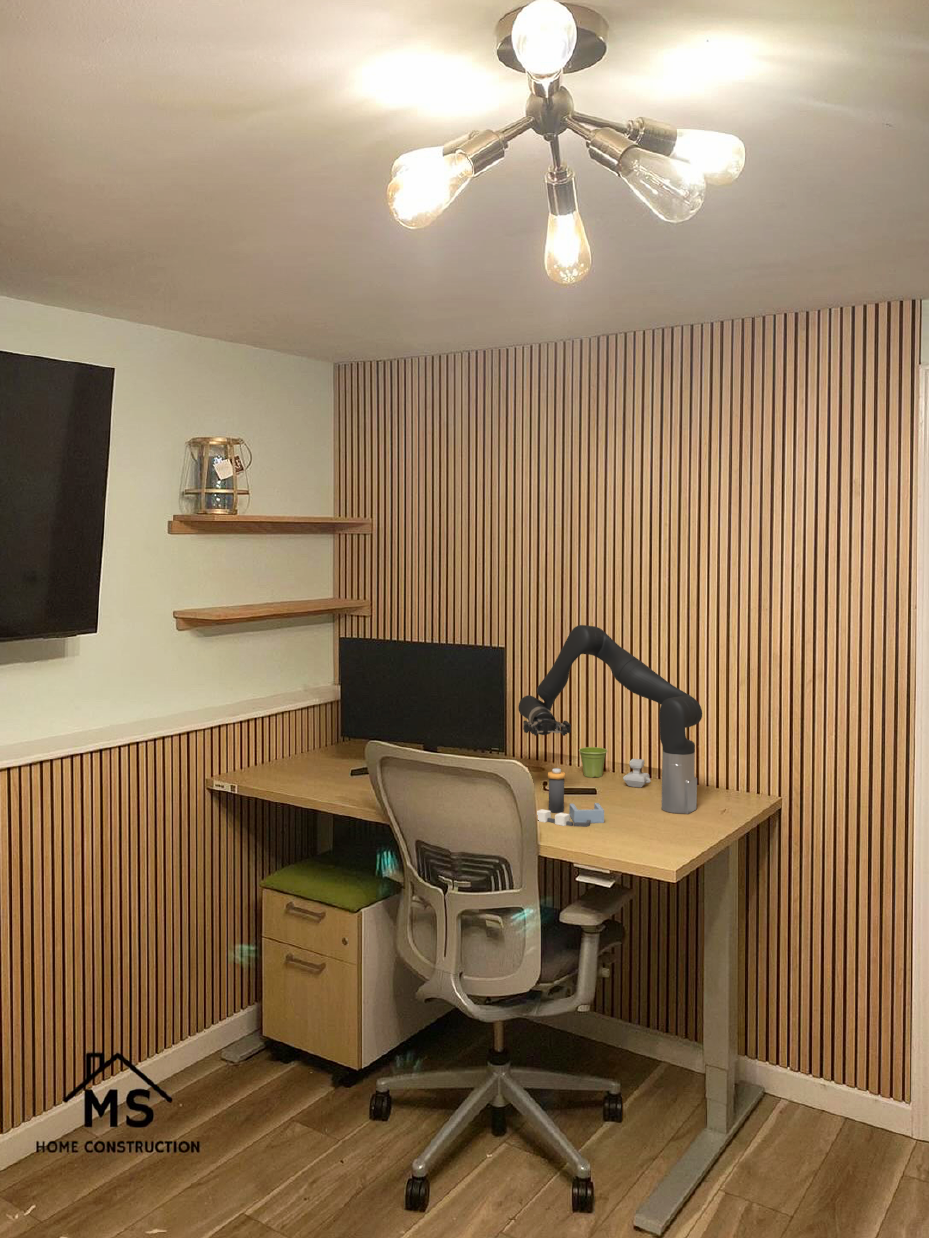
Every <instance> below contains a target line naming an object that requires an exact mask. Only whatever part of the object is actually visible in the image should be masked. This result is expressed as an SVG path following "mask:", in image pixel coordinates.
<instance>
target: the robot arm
mask: <svg viewBox="0 0 929 1238" xmlns="http://www.w3.org/2000/svg"><path fill="white" fill-rule="evenodd" d="M581 655H586V656H587V655H588V656H593V657H596V658H597V659H598V660H600V661H602V662H603V663H605V664H606V665H607V666H608V667H609V669H610V671H611V674H612V675H613V677H614V679H615V680H616V681H617V682H618V684H620V685H622V686H623V687H624V688H625V689H627V690H628V691H629V692H631V693H633V694H635V695H637V696H640V697H641V698H643V699H648V700H650V701H652V702H655V703H657V704H659V705H660V707H659V711H658V712H659V714H658V715H659V716H658V718H659V719H658V720H659V739H660V743H661V746H662V756H661V757H662V760H661V761H662V763H661V764H662V765H661V766H662V767H661V769H662V772H661V810H663V811H665V812H666V813H667V812H668V813H672V814H686V815H688V814H691V813H693V812H694V811H696V810H697V797H698V796H697V795H698V794H697V792H698V789H697V788H698V778H697V777H696V776H695V759H696V758H695V757H696V754H695V753H696V744H695V742H694V741H692V740H690V739H688V738H687V735H686V734H687V733H686V729H687V728H691V727H694V726H696V725H698V724H699V723H700V722H701V721H702V718H703V710H702V707H701V705H700V703H699V702H698V700H697V699H696V698H695V697H694V696H692V695H690V694H688V693H686V692H685V691H683V690H681V688H678V687H677V686H675V685H673V684H672V683H670V682H669V681H667V680H666V679H665V678H664V677H663V676H661V675H659V674H658V673H657V672H655V671H654V670H653V669H652V668H650V667H649V666H647V664H645V663H644V662H643V661H641V660H640V659H639V658H638V657H636V656H634V655H633V654H632V653H631V652H629V651H627V650H626V649H624V648H623V647H621V646H620V645H619V644H618V643H617V642H616V641H615V640H613V639H612V637H610V636H609V634H607V633H606V632H605V631H604V630H603V629H601V628H600V627H597V626H593V625H586V624H579V625H576V626H575V627H573V629H572V630H571V631H570V632H569V634H568V636H567V638H566V639H565V642H564V643H563V646H562V648H561V650H560V652H559V654H558V656H557V657H556V660H554V664H553V665H552V667H551V668H550V669H549V671H548V672H547V673H546V675H545V676H544V678H543V679H542V681H541V682H540V683H539V684H538V686H537V687H536V693H537V695H538V697H540V699H542V700H540V699H538V698H536V697H535V696H533V695H530V694H527V695H525V696H523V697H522V698H521V699H520V700H519V703H518V712H519V714H520V715H521V716H522V717H524V718H525V719H526V720H523V722H522V725H523V726H522V727H523V728H522V730H523V732H524V733H525V734H529V732H530V734H532V735H534V736H535V737H536V736H538V734H539V735H541V736H546V735H550V734H552V733H554V734H560V733H561V735H562V736H566V735H568V734H570V733H571V726H572V725H571V723H570V722H569V721H567V720H563V721H562V722H561V721H557V720H556V718H555V716H554V715H553V713H552V711H551V710H552V708H553V705H554V703H555V701H556V699H557V698H558V696H559V695H560V693H561V692H562V691H563V690H564V688H565V687H566V685H567V683H568V681H569V678H570V672H571V668H572V665H573V664H574V662H575V661H576V660H577V659H578V658H579V657H580V656H581Z"/></svg>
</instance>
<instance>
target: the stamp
mask: <svg viewBox="0 0 929 1238" xmlns="http://www.w3.org/2000/svg"><path fill="white" fill-rule="evenodd" d="M645 764H646V763H645V759H641V758H632V759H631V760H630V761H629V768H630V769H632V771H630V772H628V773H627V774H626V775H624V776H623V777H622V778H623V782H625V783H626V785H627V786H628V787H631V788H642V787H644V786H645V785H646V784H649V783H651V779H650V774H649V773H647V772H641V769H642V768H643V767H644V765H645Z"/></svg>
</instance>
